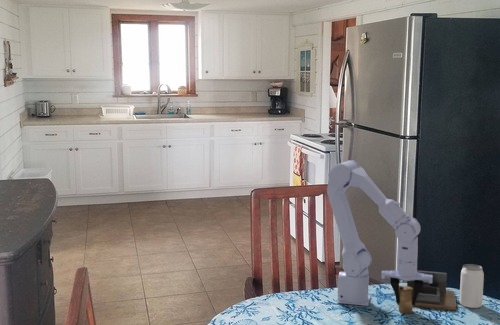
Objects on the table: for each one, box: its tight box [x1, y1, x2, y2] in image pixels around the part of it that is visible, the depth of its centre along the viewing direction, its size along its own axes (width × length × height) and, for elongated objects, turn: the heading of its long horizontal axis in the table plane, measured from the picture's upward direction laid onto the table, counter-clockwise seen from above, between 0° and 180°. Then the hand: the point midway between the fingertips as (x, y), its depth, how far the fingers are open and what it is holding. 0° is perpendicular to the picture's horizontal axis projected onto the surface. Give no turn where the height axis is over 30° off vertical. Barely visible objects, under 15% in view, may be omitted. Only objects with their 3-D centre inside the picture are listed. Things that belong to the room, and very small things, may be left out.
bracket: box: [397, 269, 457, 311], centre depth 174 cm, size 17×13×7 cm
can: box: [459, 263, 485, 309], centre depth 169 cm, size 6×6×12 cm
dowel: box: [398, 285, 414, 315], centre depth 165 cm, size 4×4×7 cm
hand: (405, 303), depth 166 cm, fingers closed on dowel, 4 cm apart
